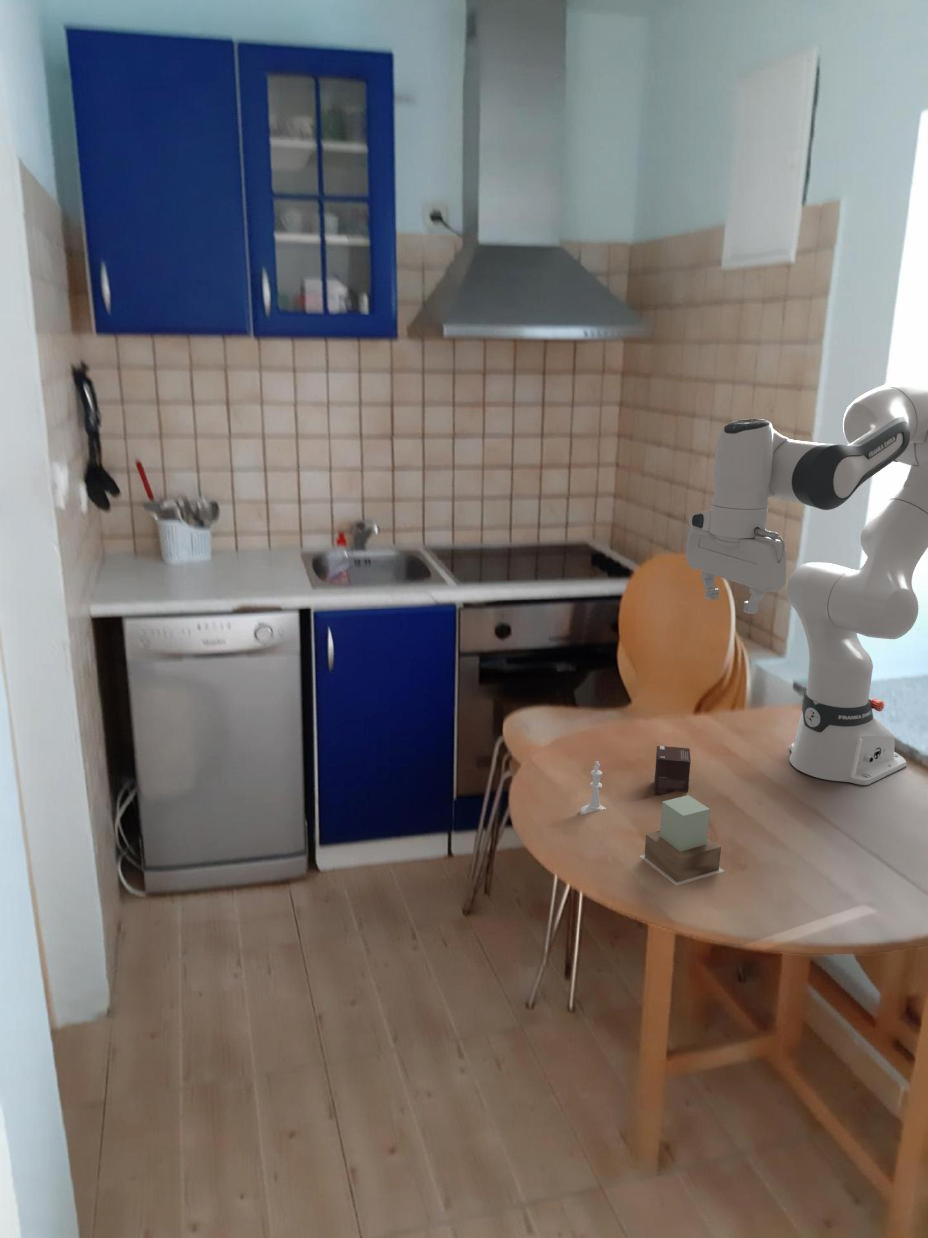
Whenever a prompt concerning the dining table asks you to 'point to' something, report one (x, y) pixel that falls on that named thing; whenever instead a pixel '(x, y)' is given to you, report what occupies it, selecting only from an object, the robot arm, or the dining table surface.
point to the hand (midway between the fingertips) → (730, 605)
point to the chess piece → (594, 791)
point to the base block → (682, 858)
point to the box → (672, 770)
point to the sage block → (684, 823)
